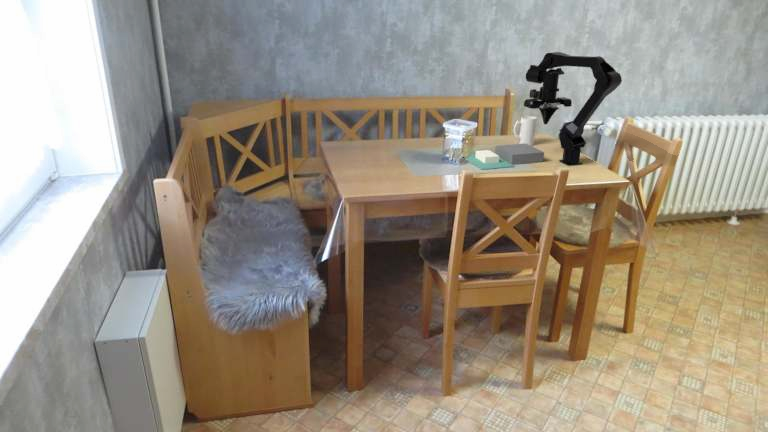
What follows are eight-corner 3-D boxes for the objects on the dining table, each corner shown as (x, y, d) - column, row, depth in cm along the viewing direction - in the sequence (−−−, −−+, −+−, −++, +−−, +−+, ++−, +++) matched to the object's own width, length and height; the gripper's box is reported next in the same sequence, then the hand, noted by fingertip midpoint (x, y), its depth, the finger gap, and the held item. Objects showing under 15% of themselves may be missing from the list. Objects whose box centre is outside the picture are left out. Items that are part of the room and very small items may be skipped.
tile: (485, 157, 213) (485, 163, 214) (499, 156, 214) (498, 162, 215) (475, 151, 221) (475, 157, 222) (489, 150, 222) (488, 156, 223)
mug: (529, 142, 246) (532, 115, 242) (536, 145, 240) (539, 118, 236) (508, 143, 244) (511, 116, 240) (515, 147, 238) (518, 119, 234)
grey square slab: (542, 161, 218) (544, 152, 216) (511, 164, 214) (512, 154, 212) (524, 152, 230) (525, 143, 229) (494, 155, 226) (495, 145, 225)
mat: (514, 167, 211) (514, 166, 211) (481, 169, 207) (481, 168, 207) (490, 153, 229) (490, 152, 229) (459, 155, 225) (459, 154, 225)
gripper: (558, 81, 226) (554, 118, 232) (518, 82, 221) (514, 121, 227) (575, 85, 216) (569, 124, 222) (533, 87, 211) (529, 127, 217)
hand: (545, 124), depth 222 cm, fingers closed
